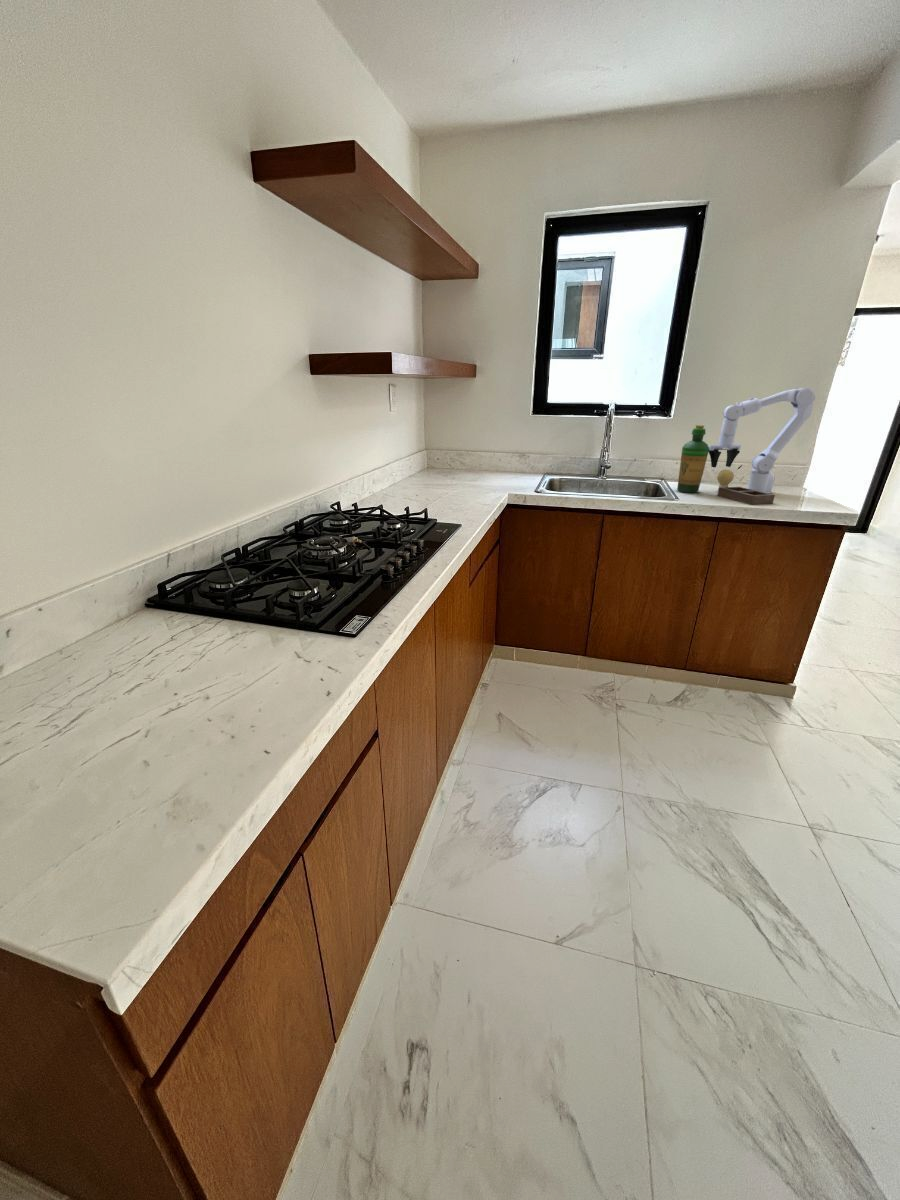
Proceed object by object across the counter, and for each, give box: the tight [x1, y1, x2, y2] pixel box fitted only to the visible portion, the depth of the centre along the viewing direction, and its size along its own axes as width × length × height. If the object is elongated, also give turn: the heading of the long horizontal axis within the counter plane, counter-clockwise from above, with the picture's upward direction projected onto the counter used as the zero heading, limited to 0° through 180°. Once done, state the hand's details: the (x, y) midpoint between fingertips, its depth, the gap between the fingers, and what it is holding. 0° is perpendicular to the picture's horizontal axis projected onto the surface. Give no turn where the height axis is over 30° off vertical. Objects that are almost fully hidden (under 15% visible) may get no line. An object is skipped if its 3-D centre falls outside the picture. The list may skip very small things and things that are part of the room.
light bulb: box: [716, 468, 735, 492], centre depth 219 cm, size 6×6×10 cm
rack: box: [717, 486, 776, 506], centre depth 207 cm, size 10×19×4 cm, turn 14°
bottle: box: [676, 424, 710, 494], centre depth 217 cm, size 11×11×28 cm
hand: (720, 466), depth 222 cm, fingers open, 7 cm apart
